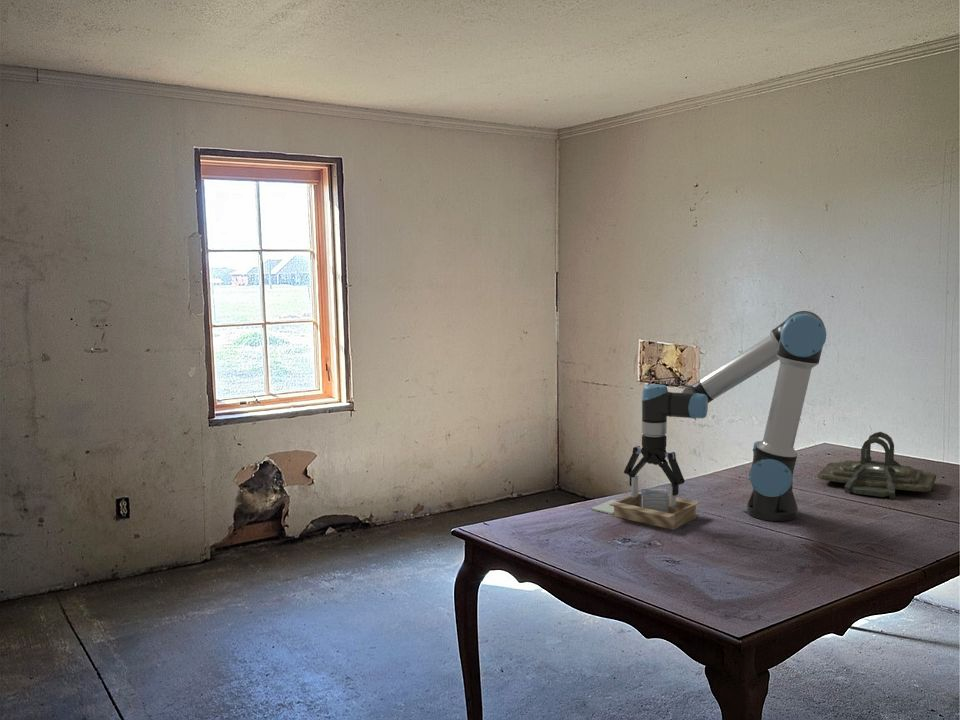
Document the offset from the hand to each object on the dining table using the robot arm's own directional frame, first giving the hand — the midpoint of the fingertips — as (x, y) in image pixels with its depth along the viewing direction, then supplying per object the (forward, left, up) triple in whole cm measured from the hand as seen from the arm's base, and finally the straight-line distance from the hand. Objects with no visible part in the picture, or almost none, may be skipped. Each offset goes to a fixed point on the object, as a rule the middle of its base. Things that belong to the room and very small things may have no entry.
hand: (653, 500), depth 256 cm
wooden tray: (0, 0, -5) cm, 5 cm away
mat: (+16, 0, -5) cm, 16 cm away
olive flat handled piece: (-42, -77, -6) cm, 88 cm away
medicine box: (0, 0, -6) cm, 6 cm away
